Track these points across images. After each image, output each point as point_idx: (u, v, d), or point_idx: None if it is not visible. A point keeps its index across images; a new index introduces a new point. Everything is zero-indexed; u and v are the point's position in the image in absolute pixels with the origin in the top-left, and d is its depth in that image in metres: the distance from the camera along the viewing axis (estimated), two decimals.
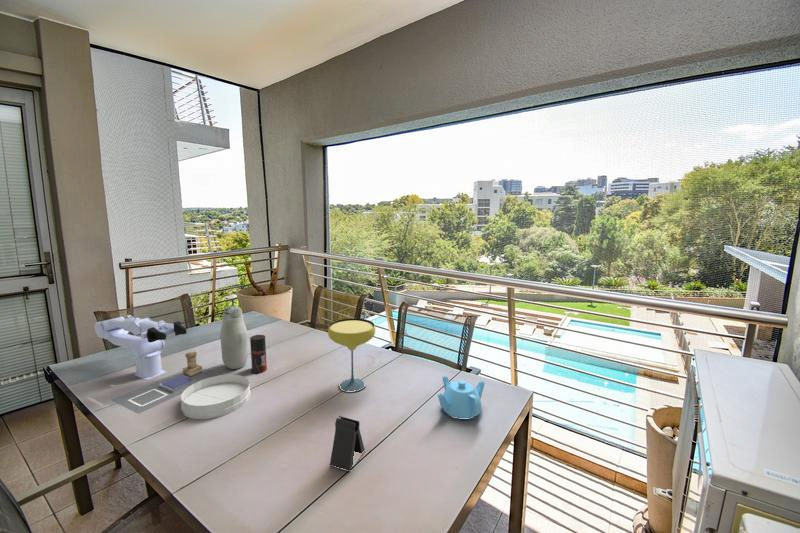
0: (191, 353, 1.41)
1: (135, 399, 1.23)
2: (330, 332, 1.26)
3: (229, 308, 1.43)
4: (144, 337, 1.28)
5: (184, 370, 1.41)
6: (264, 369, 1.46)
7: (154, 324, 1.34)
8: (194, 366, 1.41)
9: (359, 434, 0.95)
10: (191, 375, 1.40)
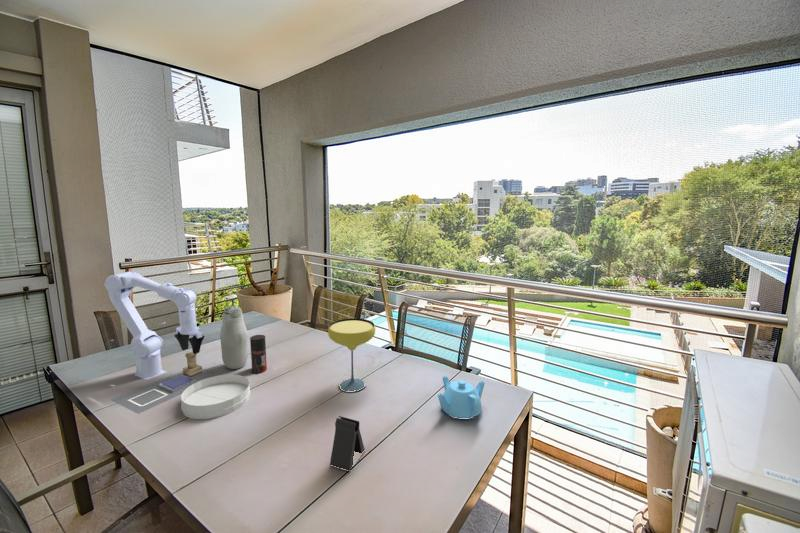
0: (191, 353, 1.41)
1: (135, 399, 1.23)
2: (330, 332, 1.26)
3: (229, 308, 1.43)
4: (198, 337, 1.36)
5: (184, 370, 1.41)
6: (264, 369, 1.46)
7: None
8: (194, 366, 1.41)
9: (359, 434, 0.95)
10: (191, 375, 1.40)
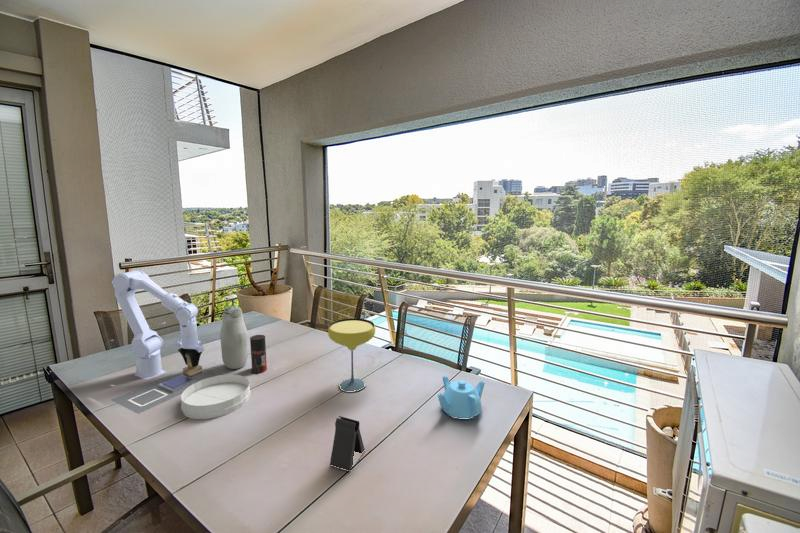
0: None
1: (135, 399, 1.23)
2: (330, 332, 1.26)
3: (229, 308, 1.43)
4: (200, 351, 1.37)
5: (184, 370, 1.41)
6: (264, 369, 1.46)
7: (197, 337, 1.42)
8: None
9: (359, 434, 0.95)
10: (191, 375, 1.40)
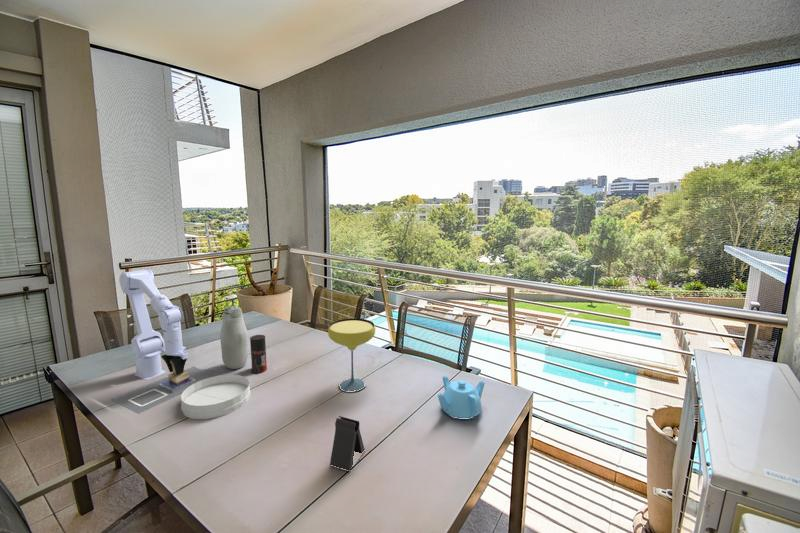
0: None
1: (135, 399, 1.23)
2: (330, 332, 1.26)
3: (229, 308, 1.43)
4: (184, 358, 1.28)
5: (170, 377, 1.32)
6: (264, 369, 1.46)
7: (182, 343, 1.33)
8: None
9: (359, 434, 0.95)
10: (177, 382, 1.31)
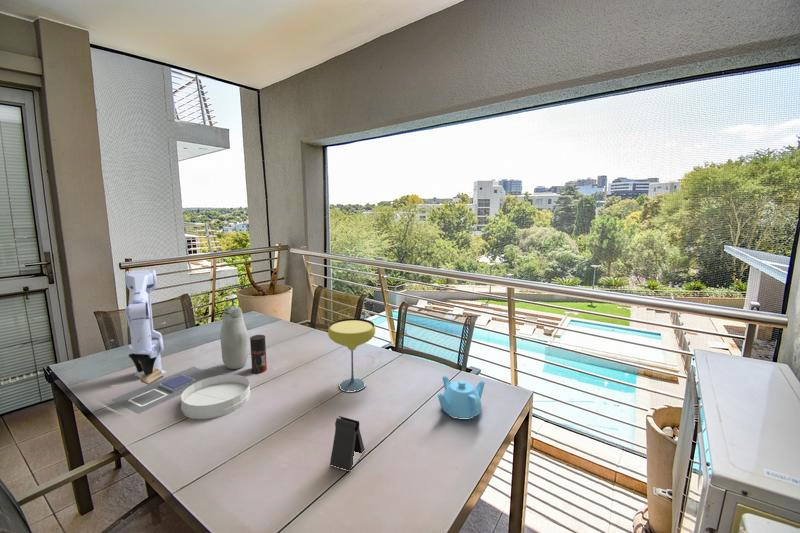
0: None
1: (135, 399, 1.23)
2: (330, 332, 1.26)
3: (229, 308, 1.43)
4: (152, 357, 1.18)
5: (141, 377, 1.23)
6: (264, 369, 1.46)
7: (151, 340, 1.23)
8: (152, 372, 1.23)
9: (359, 434, 0.95)
10: (149, 382, 1.22)
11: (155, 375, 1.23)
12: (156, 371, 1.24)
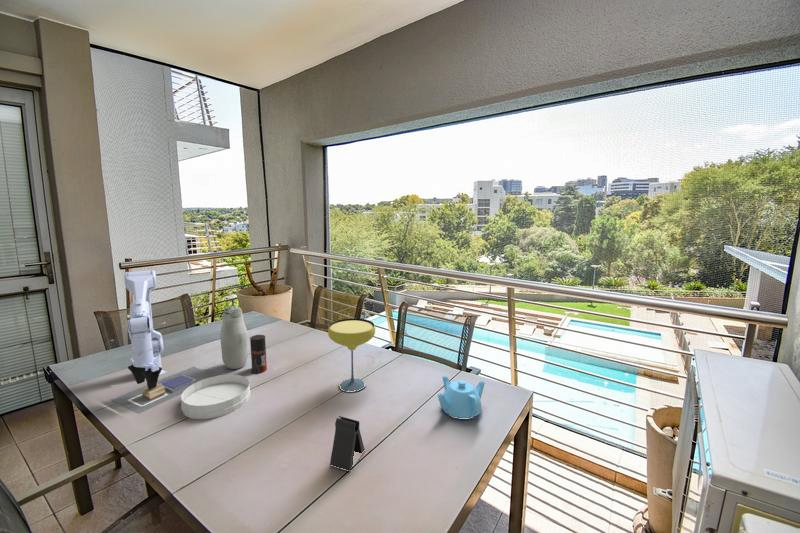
0: None
1: (135, 399, 1.23)
2: (330, 332, 1.26)
3: (229, 308, 1.43)
4: (154, 370, 1.19)
5: (143, 392, 1.24)
6: (264, 369, 1.46)
7: (153, 353, 1.23)
8: (155, 387, 1.24)
9: (359, 434, 0.95)
10: (151, 398, 1.23)
11: (158, 391, 1.25)
12: (159, 387, 1.26)
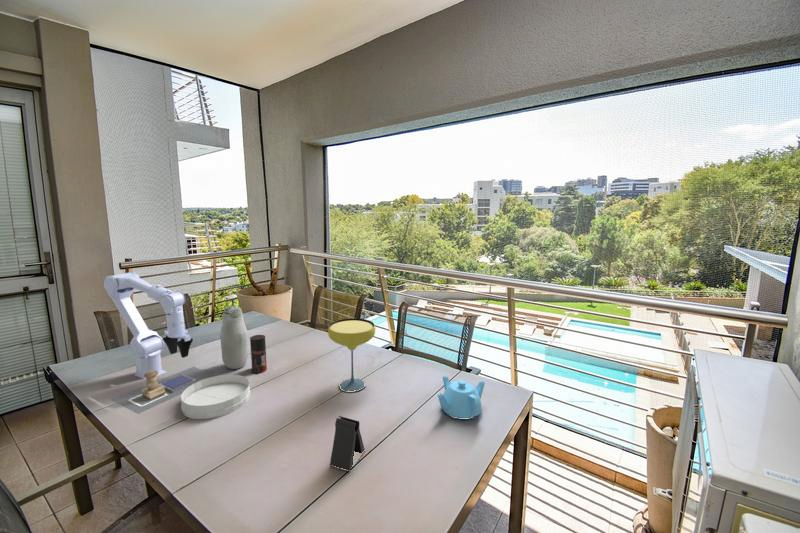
0: (151, 373, 1.24)
1: (135, 399, 1.23)
2: (330, 332, 1.26)
3: (229, 308, 1.43)
4: (186, 340, 1.33)
5: (143, 392, 1.24)
6: (264, 369, 1.46)
7: (184, 326, 1.37)
8: (155, 387, 1.24)
9: (359, 434, 0.95)
10: (151, 398, 1.23)
11: (158, 391, 1.25)
12: (159, 387, 1.26)
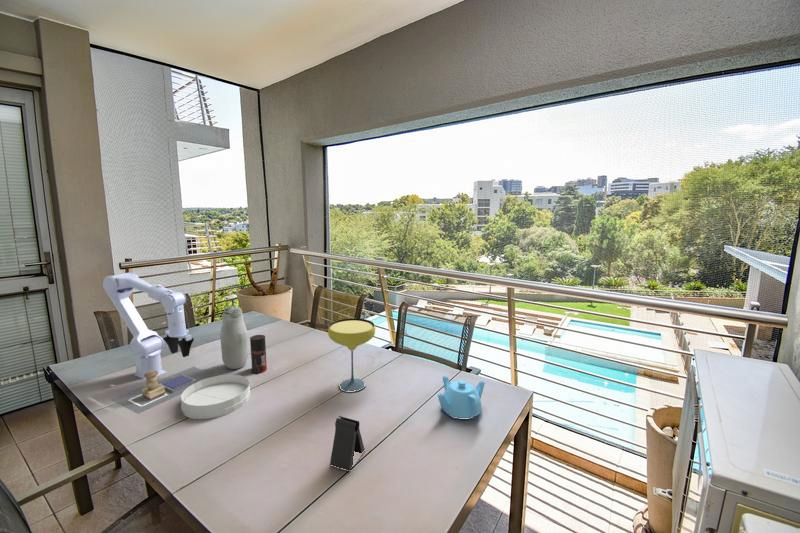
0: (151, 373, 1.24)
1: (135, 399, 1.23)
2: (330, 332, 1.26)
3: (229, 308, 1.43)
4: (187, 340, 1.33)
5: (143, 392, 1.24)
6: (264, 369, 1.46)
7: None
8: (155, 387, 1.24)
9: (359, 434, 0.95)
10: (151, 398, 1.23)
11: (158, 391, 1.25)
12: (159, 387, 1.26)
